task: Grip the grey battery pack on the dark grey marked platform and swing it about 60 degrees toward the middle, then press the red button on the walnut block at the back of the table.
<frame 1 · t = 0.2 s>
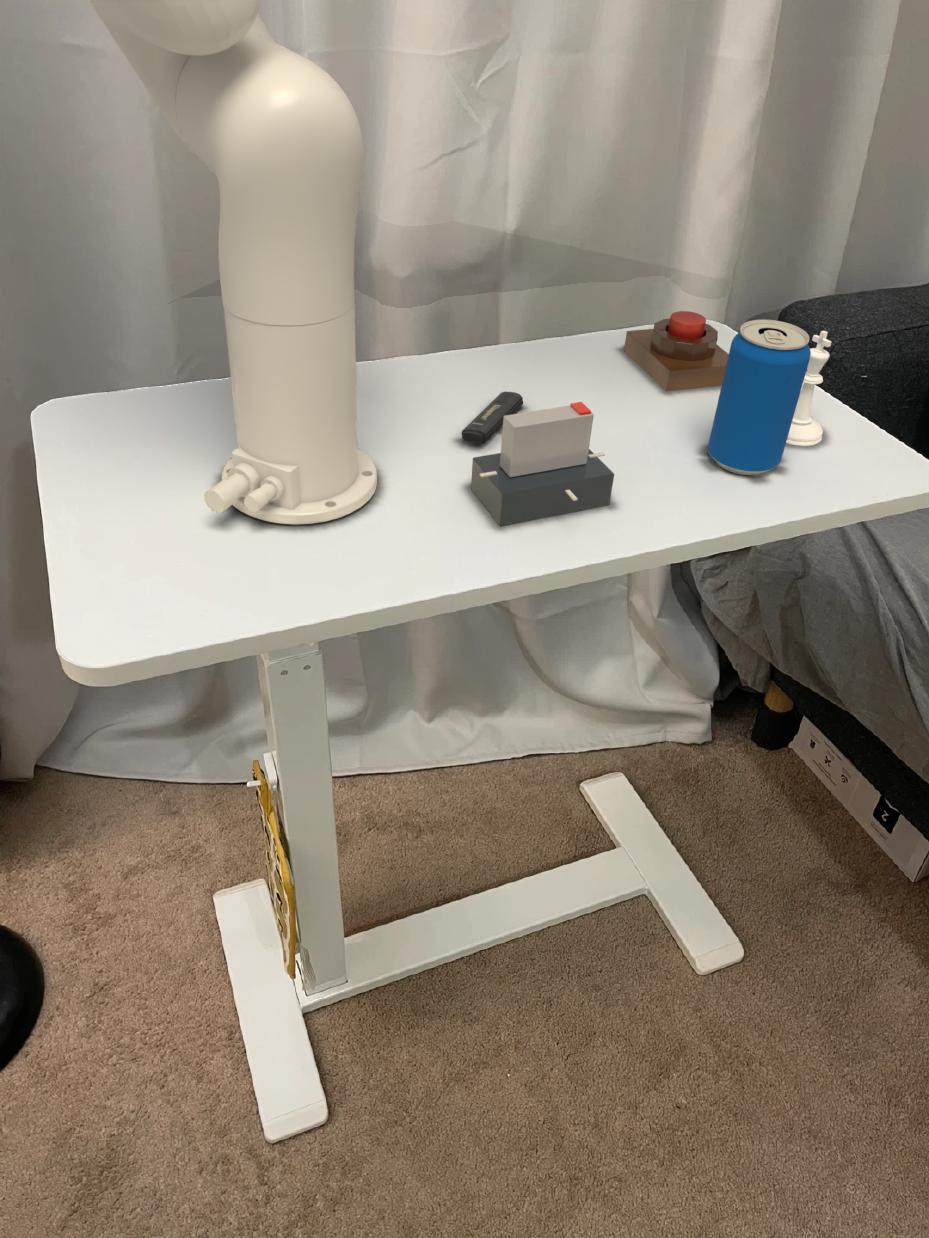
chess piece: (794, 435, 94), on the table
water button: (686, 326, 102), point 4 cm above the table, slide at 0.1 cm
button block: (678, 367, 105), on the table
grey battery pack: (546, 439, 80), point 5 cm above the table, hinge at 0.0°
usb stick: (492, 427, 93), on the table
beverage can: (741, 463, 90), on the table
dark grey marked platform: (539, 496, 83), on the table
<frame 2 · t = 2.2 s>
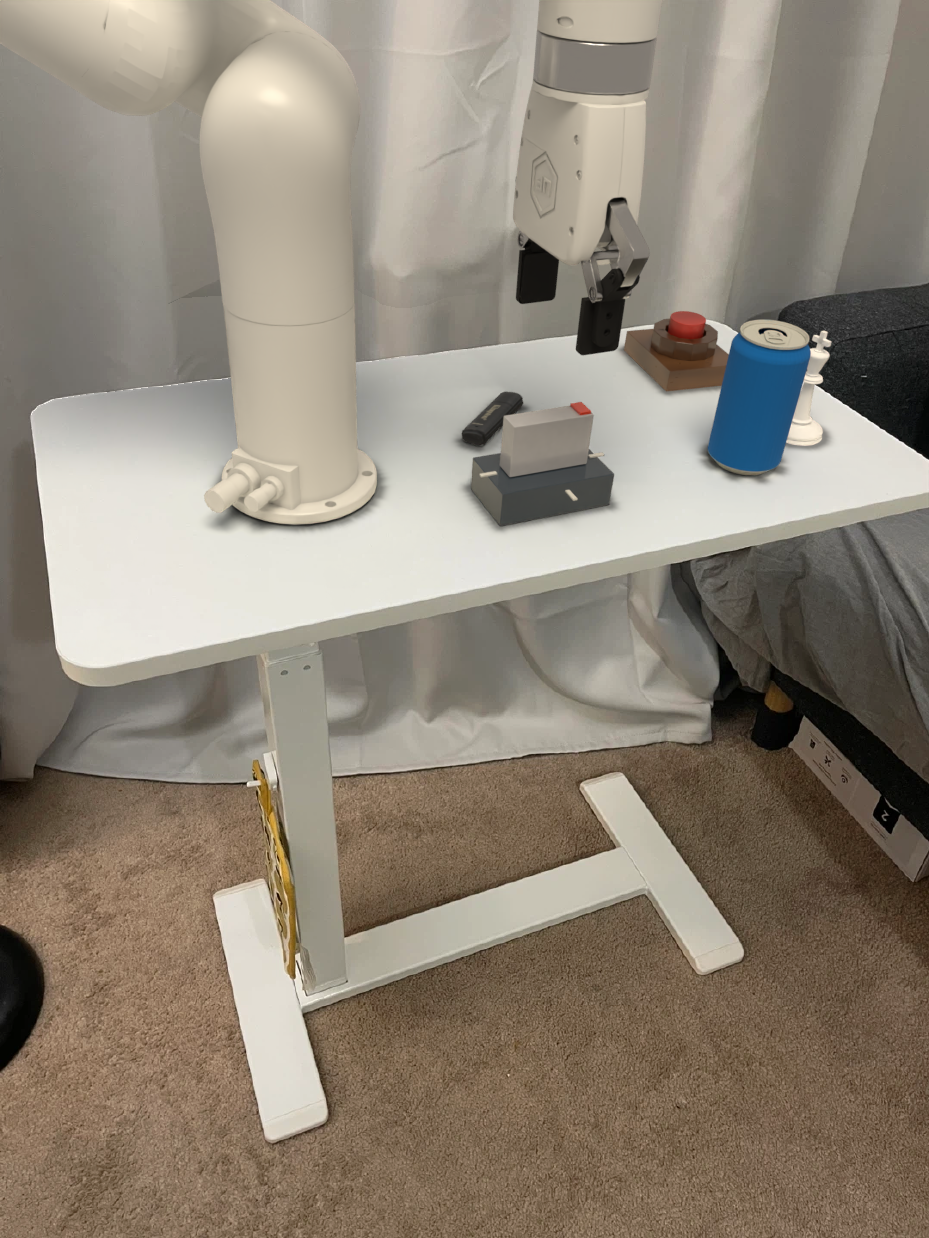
hand: (564, 325, 74), 15 cm above the table, tool pointing down, fingers open, 9 cm apart
nothing on the table moved.
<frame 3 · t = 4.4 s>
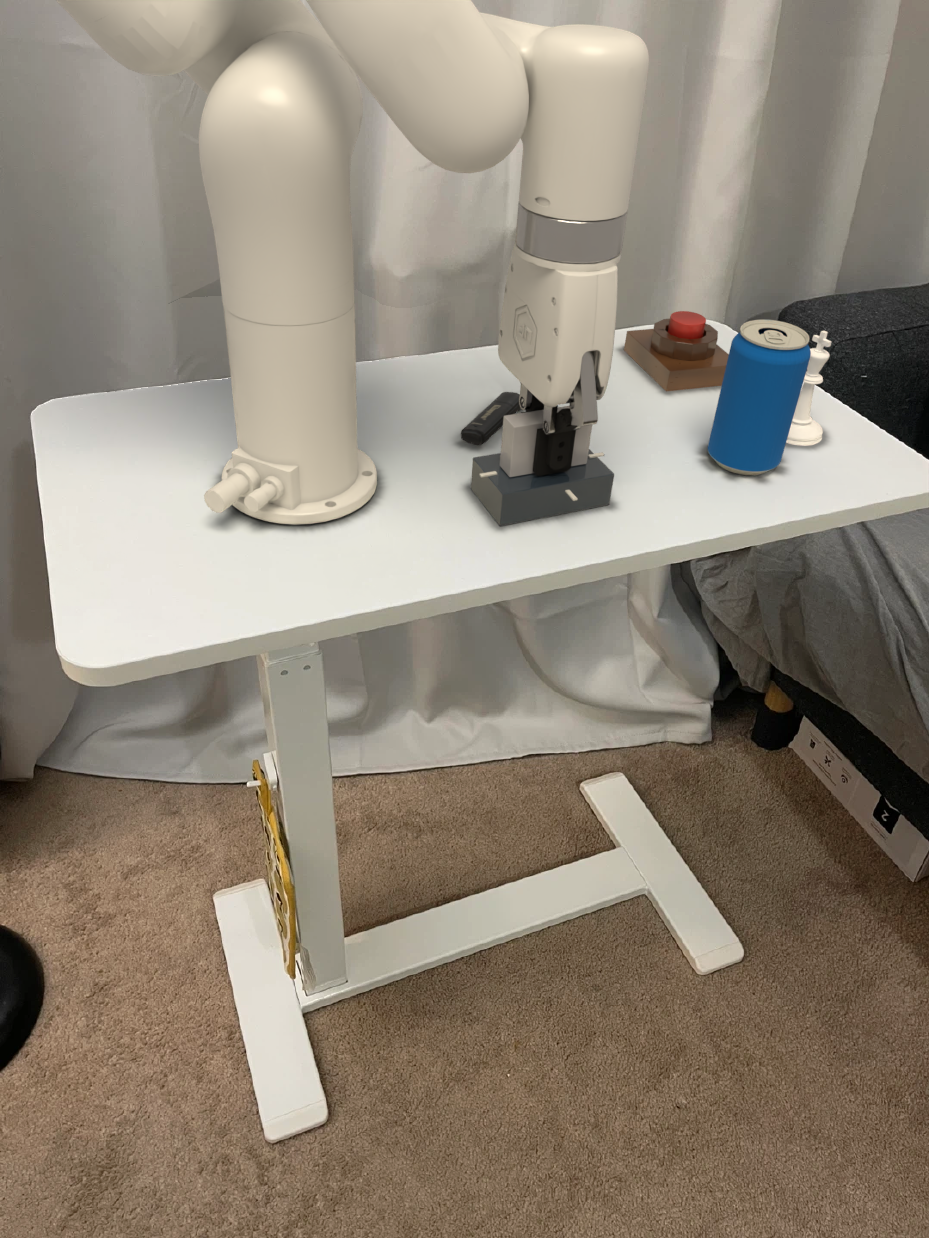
hand: (543, 461, 81), 3 cm above the table, tool pointing down, fingers closed on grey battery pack, 2 cm apart
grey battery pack: (546, 439, 80), point 5 cm above the table, hinge at 0.0°, touching gripper
everything else where it was.
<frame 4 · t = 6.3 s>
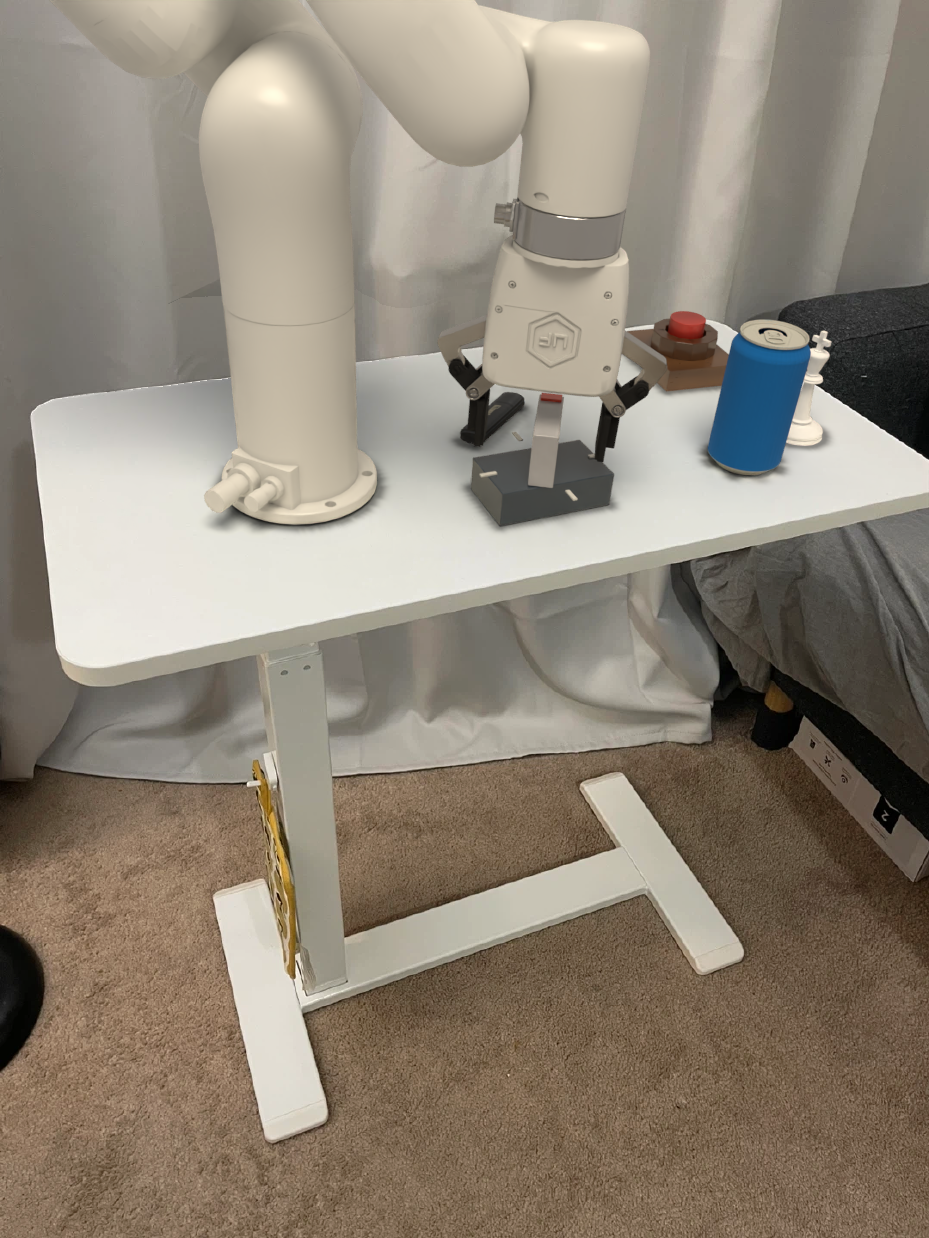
hand: (539, 446, 80), 5 cm above the table, tool pointing down, fingers open, 9 cm apart
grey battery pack: (546, 439, 80), point 5 cm above the table, hinge at 59.5°
everything else where it was.
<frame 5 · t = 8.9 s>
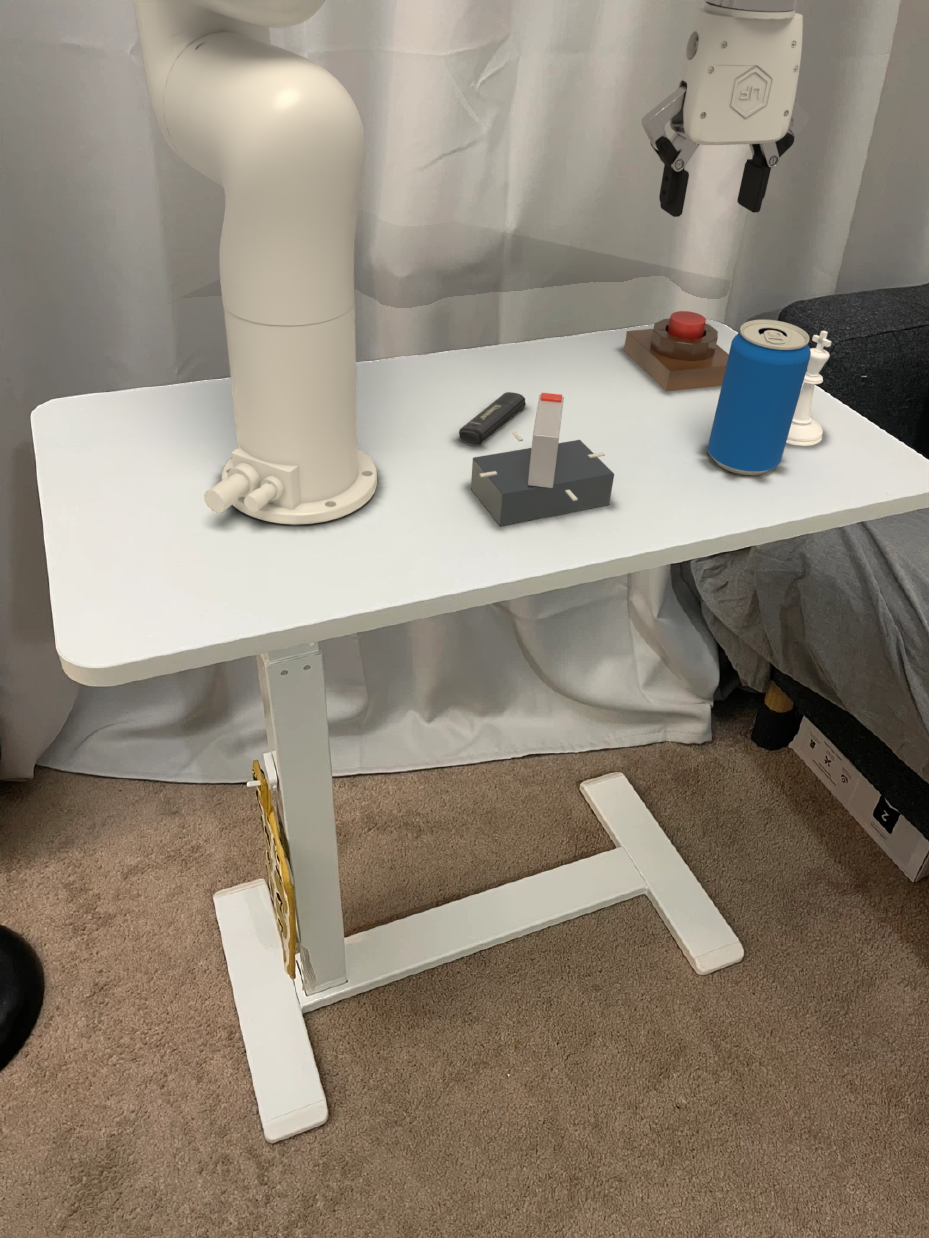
hand: (709, 209, 94), 16 cm above the table, tool pointing down, fingers open, 7 cm apart
nothing on the table moved.
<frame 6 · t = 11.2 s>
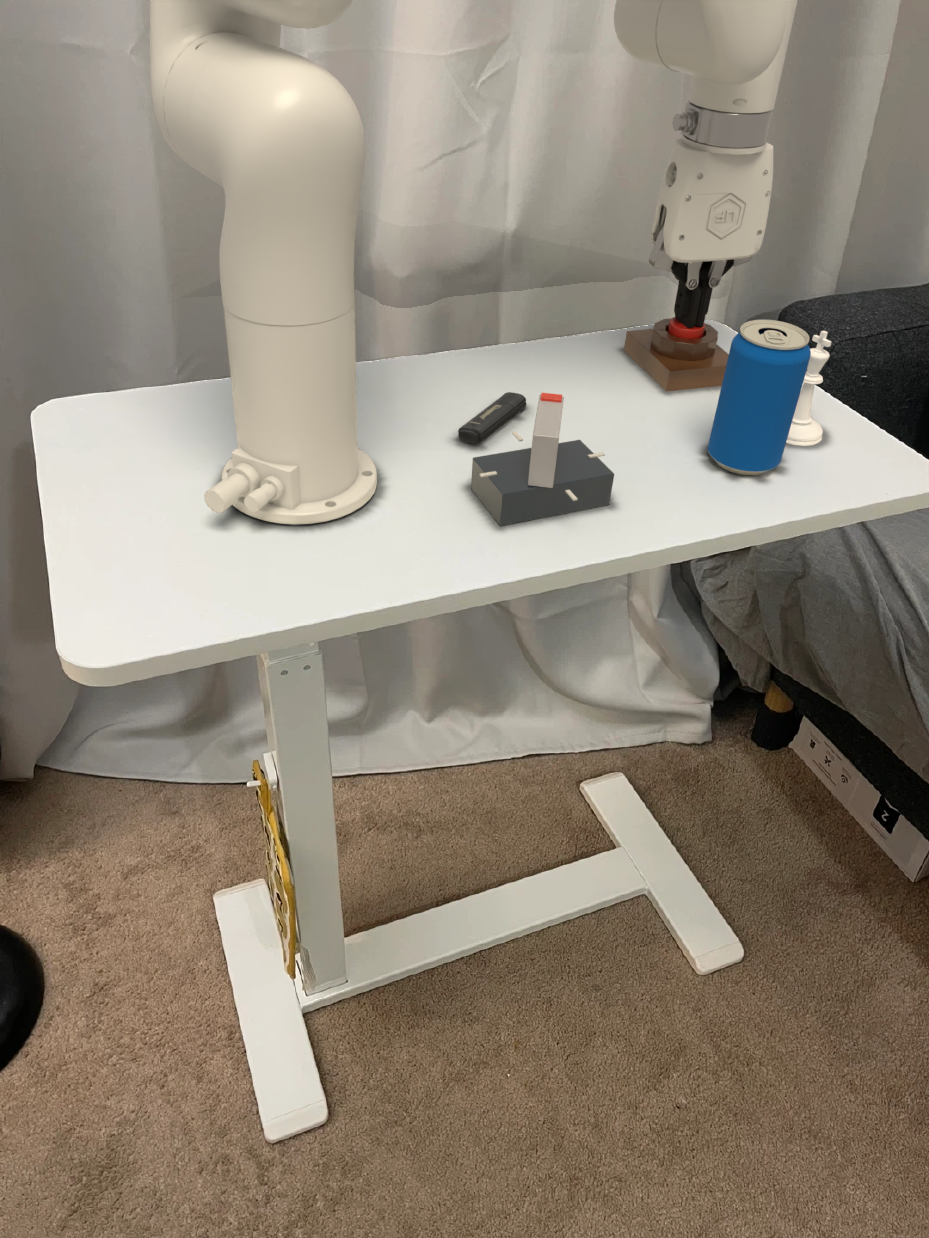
hand: (688, 322, 102), 5 cm above the table, tool pointing down, fingers closed
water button: (685, 331, 102), point 4 cm above the table, slide at -0.4 cm, touching gripper
everything else where it was.
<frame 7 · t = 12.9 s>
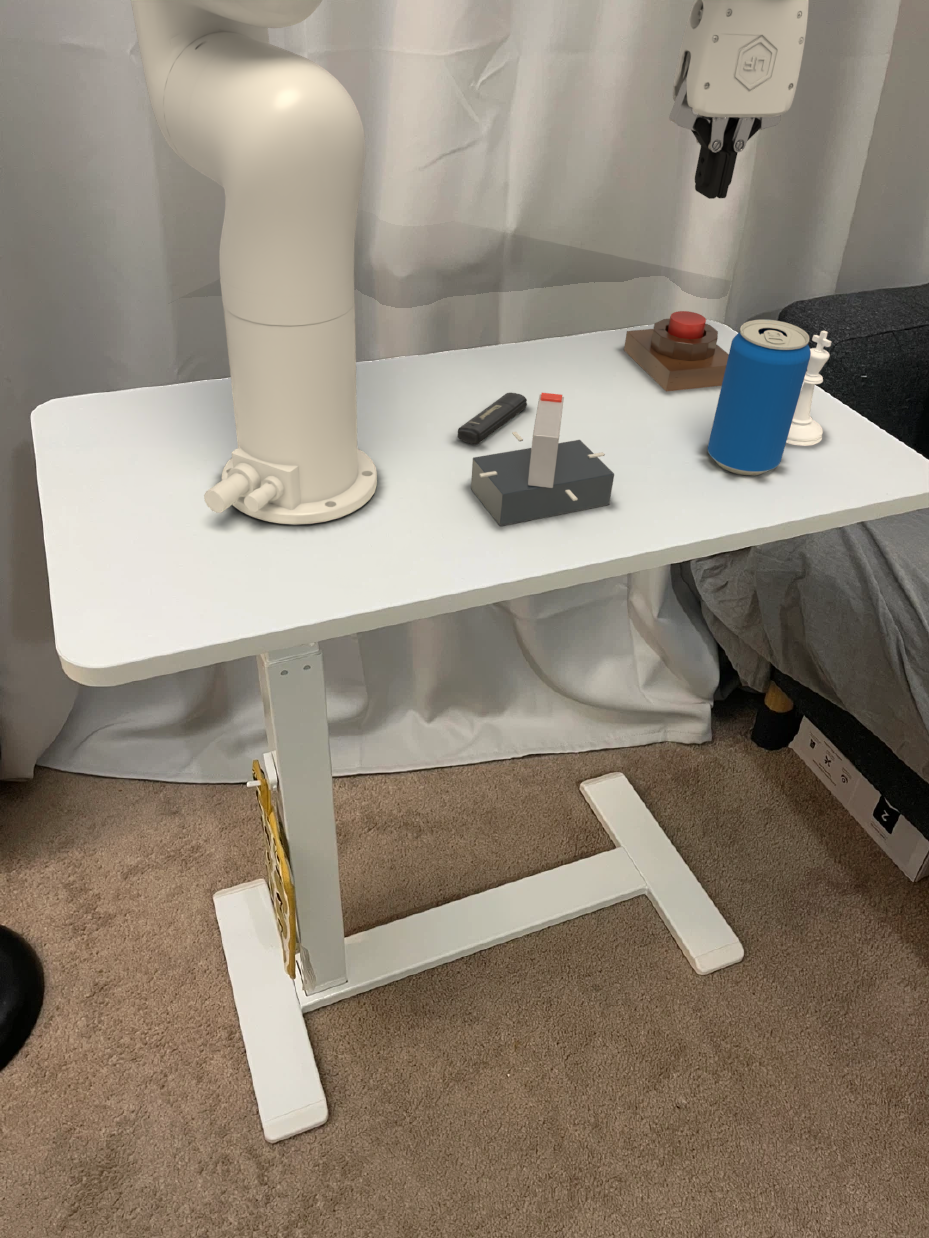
hand: (709, 194, 93), 17 cm above the table, tool pointing down, fingers closed
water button: (686, 326, 102), point 4 cm above the table, slide at 0.1 cm
everything else where it was.
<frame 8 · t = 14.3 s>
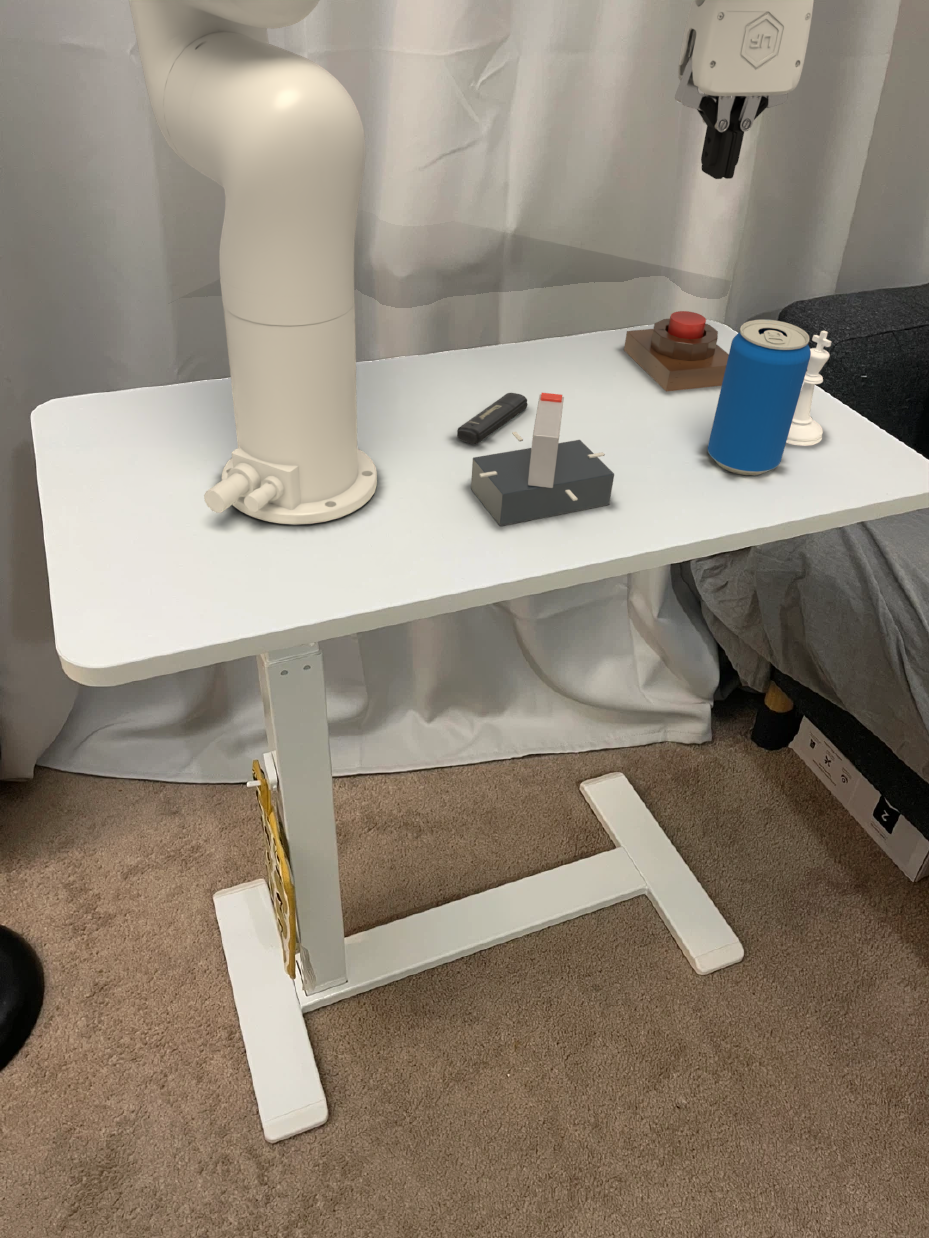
hand: (716, 174, 93), 19 cm above the table, tool pointing down, fingers closed
nothing on the table moved.
at the end: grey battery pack at +60° (first picture: +0°); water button pushed in 1.1 cm at the most during the clip, back to where it started at the end; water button slide at 0.1 cm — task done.
